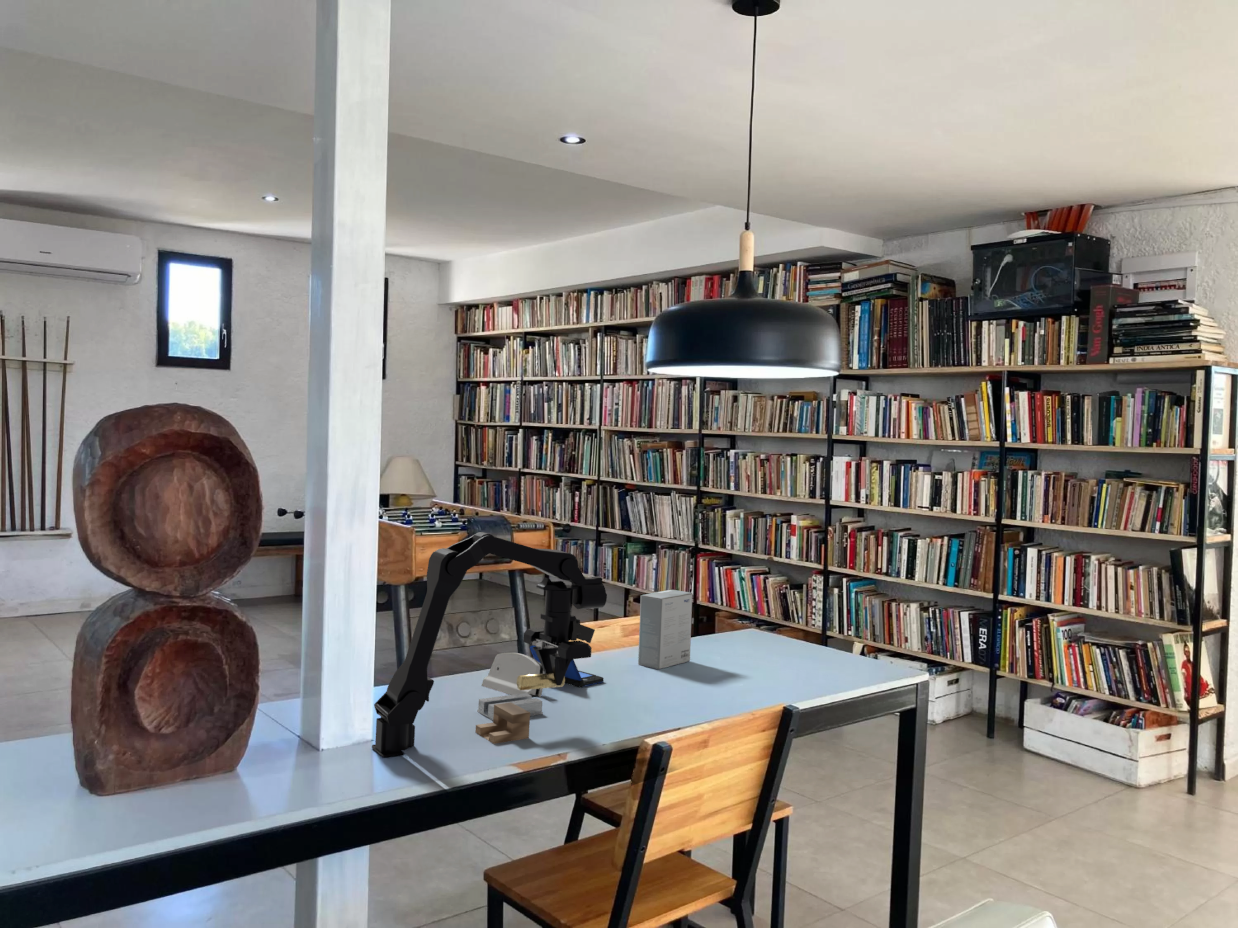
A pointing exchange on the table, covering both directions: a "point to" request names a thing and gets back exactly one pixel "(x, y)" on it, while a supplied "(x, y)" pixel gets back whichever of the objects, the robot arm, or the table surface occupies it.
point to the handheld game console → (575, 674)
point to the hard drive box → (665, 628)
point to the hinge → (512, 673)
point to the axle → (537, 681)
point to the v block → (518, 699)
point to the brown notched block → (506, 724)
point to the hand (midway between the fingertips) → (554, 683)
